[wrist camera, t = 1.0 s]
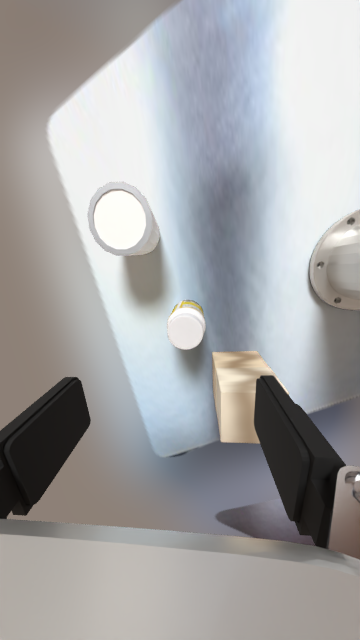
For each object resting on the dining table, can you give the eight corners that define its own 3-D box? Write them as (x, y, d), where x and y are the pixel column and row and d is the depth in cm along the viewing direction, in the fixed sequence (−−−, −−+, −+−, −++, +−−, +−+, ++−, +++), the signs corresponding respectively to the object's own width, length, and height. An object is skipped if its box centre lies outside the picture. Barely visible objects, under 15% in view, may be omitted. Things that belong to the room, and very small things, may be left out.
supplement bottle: (181, 333, 28) (175, 359, 20) (167, 307, 27) (155, 324, 19) (208, 321, 27) (213, 342, 19) (195, 293, 26) (194, 304, 18)
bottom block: (256, 350, 28) (269, 367, 23) (254, 388, 30) (265, 411, 25) (212, 351, 29) (215, 368, 24) (212, 388, 31) (216, 410, 26)
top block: (269, 367, 23) (288, 392, 18) (266, 410, 25) (282, 444, 20) (216, 367, 24) (220, 392, 19) (216, 410, 26) (220, 442, 21)
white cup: (144, 193, 23) (124, 163, 17) (173, 240, 25) (165, 229, 18) (106, 226, 25) (73, 211, 18) (135, 269, 26) (114, 268, 19)
